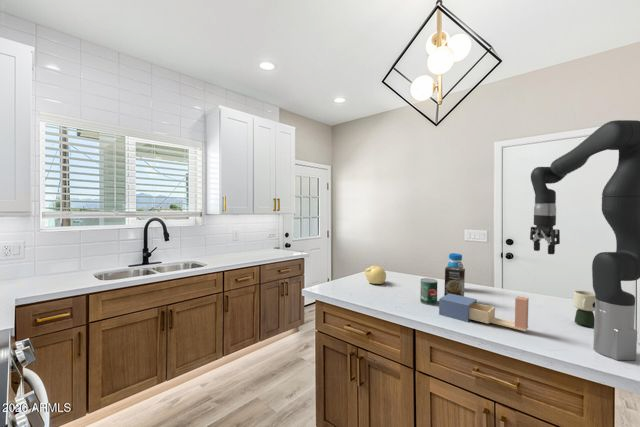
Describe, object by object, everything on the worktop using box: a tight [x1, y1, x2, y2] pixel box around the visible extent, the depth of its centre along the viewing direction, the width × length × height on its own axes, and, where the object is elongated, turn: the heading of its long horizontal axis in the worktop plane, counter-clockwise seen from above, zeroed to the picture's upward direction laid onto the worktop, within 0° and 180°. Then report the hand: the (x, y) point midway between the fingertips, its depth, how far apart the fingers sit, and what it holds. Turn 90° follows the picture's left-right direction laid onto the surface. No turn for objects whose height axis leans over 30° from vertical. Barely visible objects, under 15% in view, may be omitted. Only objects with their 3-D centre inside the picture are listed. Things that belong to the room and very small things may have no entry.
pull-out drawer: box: [469, 295, 530, 332], centre depth 121 cm, size 23×9×12 cm, turn 46°
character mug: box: [573, 290, 595, 328], centre depth 120 cm, size 11×7×13 cm, turn 135°
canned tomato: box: [419, 277, 439, 306], centre depth 147 cm, size 8×8×11 cm
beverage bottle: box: [446, 252, 464, 269], centre depth 169 cm, size 8×8×20 cm
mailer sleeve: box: [438, 293, 478, 323], centre depth 131 cm, size 12×11×7 cm
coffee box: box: [443, 266, 466, 297], centre depth 150 cm, size 9×6×16 cm
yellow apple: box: [364, 265, 387, 285], centre depth 182 cm, size 11×12×11 cm
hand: (543, 252), depth 126 cm, fingers open, 8 cm apart
